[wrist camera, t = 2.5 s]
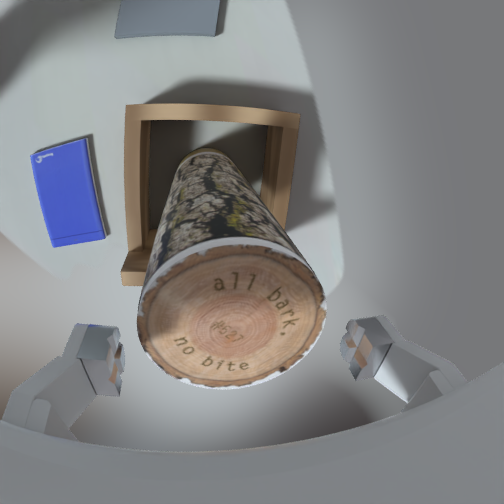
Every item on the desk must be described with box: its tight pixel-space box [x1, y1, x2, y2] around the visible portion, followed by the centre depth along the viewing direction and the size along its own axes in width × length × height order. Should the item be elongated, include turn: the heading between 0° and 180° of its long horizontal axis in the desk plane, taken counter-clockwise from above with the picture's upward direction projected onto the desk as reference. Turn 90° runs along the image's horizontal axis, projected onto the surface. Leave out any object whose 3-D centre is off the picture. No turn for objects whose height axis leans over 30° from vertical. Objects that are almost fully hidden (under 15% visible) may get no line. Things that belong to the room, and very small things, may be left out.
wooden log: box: [137, 148, 327, 389], centre depth 21 cm, size 7×7×25 cm
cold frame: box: [121, 104, 300, 286], centre depth 27 cm, size 16×16×10 cm
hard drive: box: [30, 138, 107, 247], centre depth 29 cm, size 2×8×12 cm
